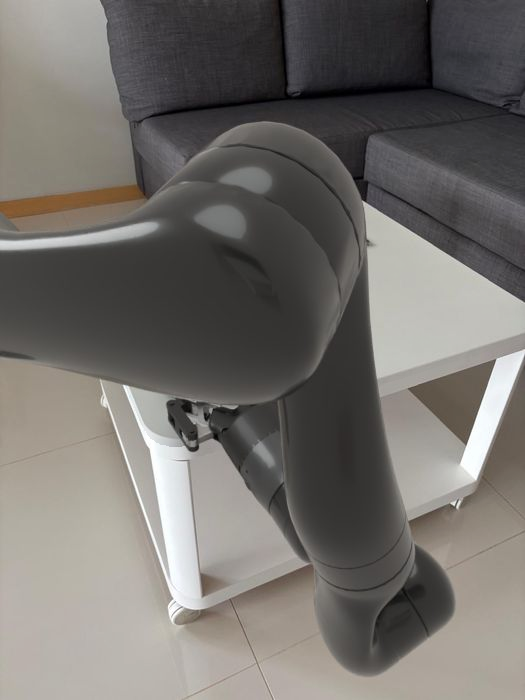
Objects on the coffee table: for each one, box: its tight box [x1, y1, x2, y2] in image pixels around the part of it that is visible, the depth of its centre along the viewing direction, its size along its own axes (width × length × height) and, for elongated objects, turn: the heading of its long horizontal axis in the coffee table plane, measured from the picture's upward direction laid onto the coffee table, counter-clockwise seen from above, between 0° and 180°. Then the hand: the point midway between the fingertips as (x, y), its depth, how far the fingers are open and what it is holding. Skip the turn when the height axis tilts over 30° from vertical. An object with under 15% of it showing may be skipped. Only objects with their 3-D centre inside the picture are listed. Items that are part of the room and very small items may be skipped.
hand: (208, 367), depth 64 cm, fingers open, 8 cm apart
